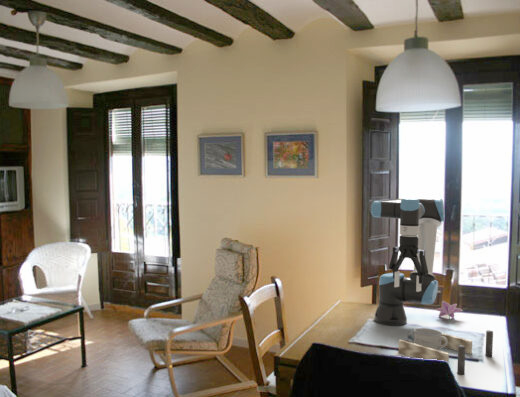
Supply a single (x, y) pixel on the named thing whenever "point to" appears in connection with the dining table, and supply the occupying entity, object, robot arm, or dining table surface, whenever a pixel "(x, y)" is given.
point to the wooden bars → (453, 343)
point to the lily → (448, 309)
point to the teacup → (429, 338)
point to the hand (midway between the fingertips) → (407, 288)
